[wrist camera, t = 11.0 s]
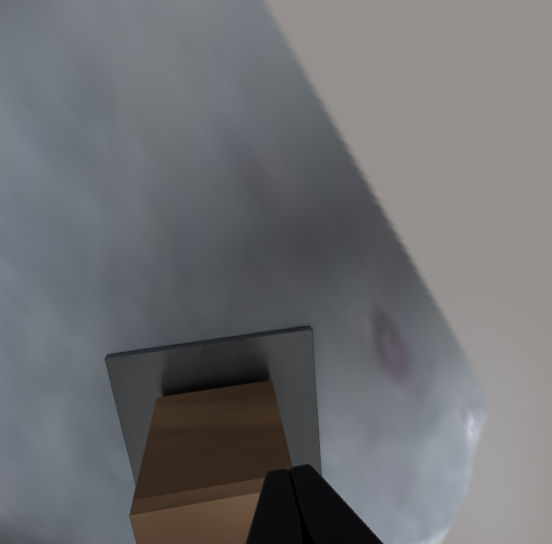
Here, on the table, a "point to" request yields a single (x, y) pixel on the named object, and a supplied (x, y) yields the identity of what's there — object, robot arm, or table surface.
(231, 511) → the cardboard carton
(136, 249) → the table surface
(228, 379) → the gray square base stand
